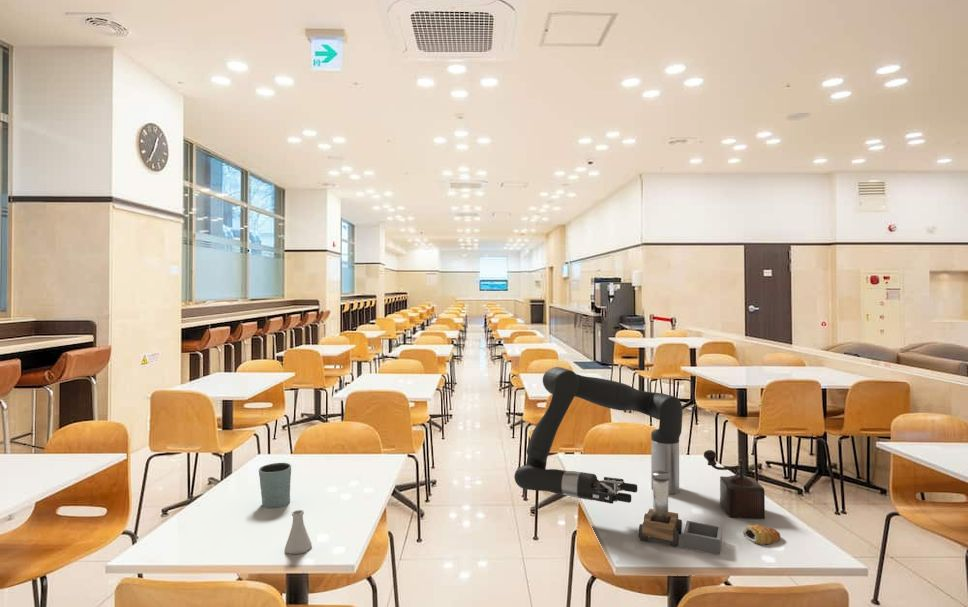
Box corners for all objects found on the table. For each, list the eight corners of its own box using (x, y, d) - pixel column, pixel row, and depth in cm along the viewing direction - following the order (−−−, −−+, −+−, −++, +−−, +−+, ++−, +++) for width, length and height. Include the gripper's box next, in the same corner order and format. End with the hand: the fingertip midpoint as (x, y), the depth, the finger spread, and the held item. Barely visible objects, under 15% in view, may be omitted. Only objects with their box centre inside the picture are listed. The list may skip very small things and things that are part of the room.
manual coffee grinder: (752, 505, 171) (752, 449, 170) (765, 519, 160) (765, 460, 160) (702, 503, 173) (701, 448, 173) (711, 517, 162) (711, 458, 162)
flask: (315, 542, 147) (315, 506, 147) (307, 554, 140) (307, 517, 140) (289, 542, 147) (288, 507, 147) (280, 555, 140) (279, 517, 140)
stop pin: (653, 521, 152) (653, 469, 152) (670, 524, 150) (670, 472, 150) (650, 528, 148) (650, 474, 148) (668, 531, 146) (668, 477, 146)
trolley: (645, 521, 159) (645, 505, 159) (682, 528, 154) (682, 511, 154) (636, 541, 146) (636, 523, 146) (676, 549, 142) (676, 530, 141)
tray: (687, 534, 150) (686, 520, 150) (721, 540, 146) (721, 526, 146) (683, 548, 142) (683, 533, 142) (720, 555, 138) (720, 539, 138)
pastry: (768, 532, 152) (768, 519, 152) (787, 543, 145) (787, 529, 145) (740, 536, 149) (740, 522, 149) (758, 547, 143) (758, 533, 143)
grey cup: (280, 510, 169) (280, 473, 169) (252, 508, 171) (251, 471, 171) (297, 498, 179) (297, 463, 179) (271, 496, 181) (270, 461, 181)
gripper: (572, 480, 153) (629, 488, 146) (586, 465, 166) (639, 473, 159) (572, 505, 153) (629, 515, 146) (586, 489, 166) (639, 497, 159)
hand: (634, 493), depth 152 cm, fingers open, 8 cm apart
